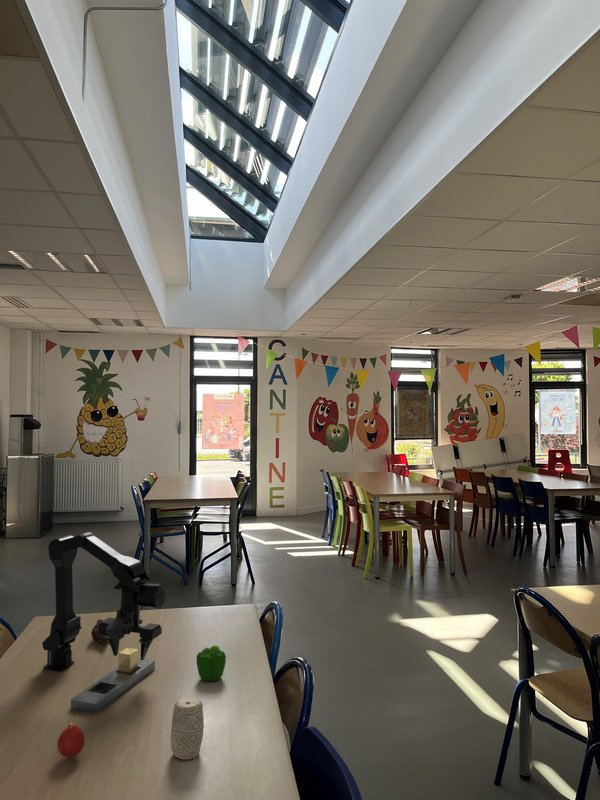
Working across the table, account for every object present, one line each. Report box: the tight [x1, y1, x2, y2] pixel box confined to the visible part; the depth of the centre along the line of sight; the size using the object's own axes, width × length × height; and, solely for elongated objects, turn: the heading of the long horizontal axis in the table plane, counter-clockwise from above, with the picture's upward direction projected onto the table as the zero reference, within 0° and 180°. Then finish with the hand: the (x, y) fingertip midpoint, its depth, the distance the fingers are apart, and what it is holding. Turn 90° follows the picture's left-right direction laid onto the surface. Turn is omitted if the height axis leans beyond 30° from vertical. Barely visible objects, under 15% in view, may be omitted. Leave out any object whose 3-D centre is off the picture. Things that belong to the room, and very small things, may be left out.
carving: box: [170, 696, 205, 761], centre depth 131 cm, size 6×8×12 cm
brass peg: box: [117, 647, 139, 675], centre depth 169 cm, size 4×4×8 cm
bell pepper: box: [196, 645, 227, 682], centre depth 169 cm, size 8×8×10 cm
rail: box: [70, 657, 156, 715], centre depth 163 cm, size 8×28×2 cm, turn 162°
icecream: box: [90, 618, 109, 644], centre depth 195 cm, size 7×7×15 cm
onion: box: [56, 722, 86, 760], centre depth 129 cm, size 6×6×8 cm
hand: (129, 657), depth 169 cm, fingers open, 9 cm apart
